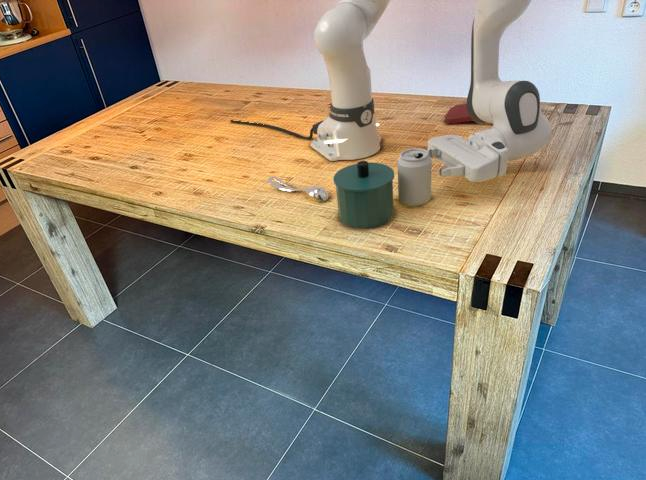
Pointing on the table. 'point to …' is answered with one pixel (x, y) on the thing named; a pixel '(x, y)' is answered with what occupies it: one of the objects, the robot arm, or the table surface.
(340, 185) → the pot lid
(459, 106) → the dark red sloped ramp
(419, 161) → the can
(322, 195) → the silver spoon
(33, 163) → the table surface
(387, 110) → the table surface
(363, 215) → the pot
